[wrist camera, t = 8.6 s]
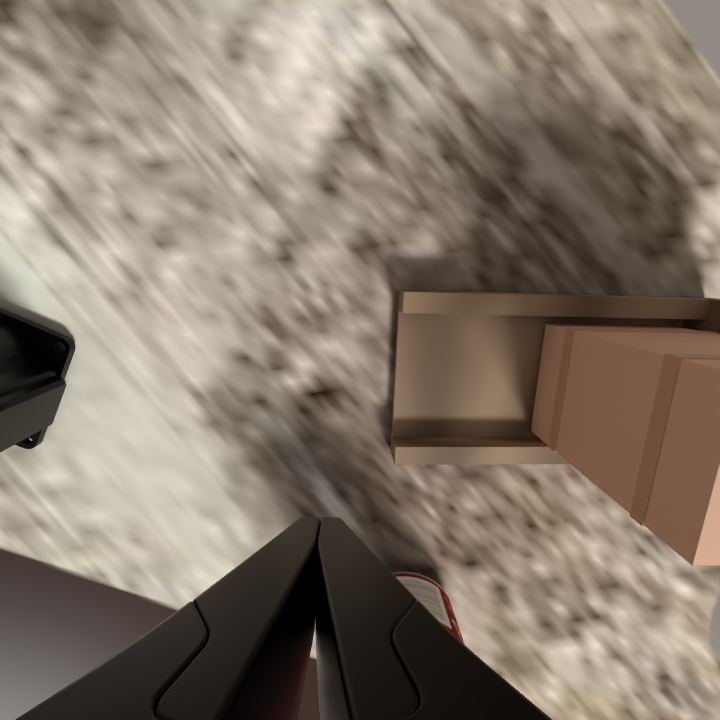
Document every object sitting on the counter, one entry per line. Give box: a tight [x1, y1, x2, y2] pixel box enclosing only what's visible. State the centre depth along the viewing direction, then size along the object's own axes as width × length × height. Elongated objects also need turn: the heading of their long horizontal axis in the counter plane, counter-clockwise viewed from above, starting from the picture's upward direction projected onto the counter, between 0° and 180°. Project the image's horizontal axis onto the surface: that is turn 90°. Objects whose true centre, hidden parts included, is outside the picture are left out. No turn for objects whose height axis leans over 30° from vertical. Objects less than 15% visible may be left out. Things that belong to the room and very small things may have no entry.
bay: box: [390, 290, 720, 465], centre depth 17 cm, size 18×9×10 cm, turn 88°
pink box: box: [531, 324, 720, 566], centre depth 16 cm, size 7×6×10 cm
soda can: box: [392, 571, 465, 645], centre depth 19 cm, size 7×7×12 cm
